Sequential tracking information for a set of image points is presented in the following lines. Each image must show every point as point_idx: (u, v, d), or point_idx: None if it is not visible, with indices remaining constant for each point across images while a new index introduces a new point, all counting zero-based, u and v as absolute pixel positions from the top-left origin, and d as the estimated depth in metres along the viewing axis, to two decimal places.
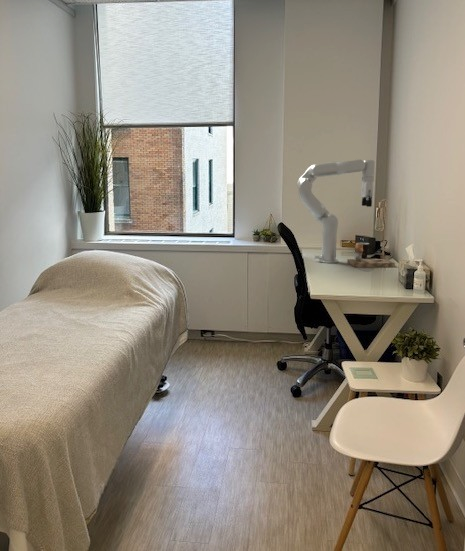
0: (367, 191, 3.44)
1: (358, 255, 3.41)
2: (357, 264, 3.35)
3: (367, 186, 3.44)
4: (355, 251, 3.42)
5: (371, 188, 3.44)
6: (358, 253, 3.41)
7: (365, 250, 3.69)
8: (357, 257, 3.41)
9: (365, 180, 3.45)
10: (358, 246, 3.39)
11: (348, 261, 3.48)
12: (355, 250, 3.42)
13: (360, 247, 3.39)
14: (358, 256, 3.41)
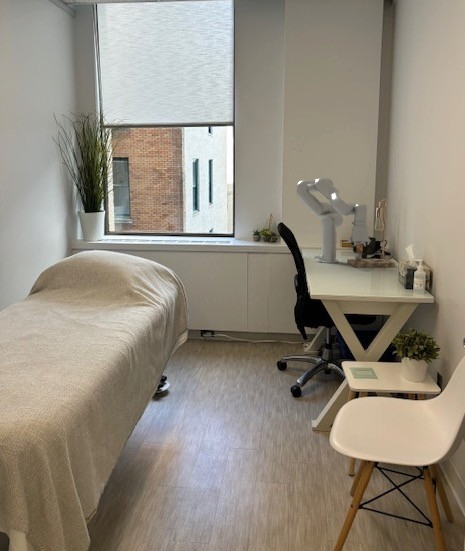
0: None
1: (358, 255, 3.41)
2: (357, 264, 3.35)
3: None
4: None
5: None
6: (358, 253, 3.41)
7: (365, 250, 3.69)
8: (357, 257, 3.41)
9: (365, 225, 3.37)
10: (358, 246, 3.39)
11: (348, 261, 3.48)
12: None
13: (360, 247, 3.39)
14: (358, 256, 3.41)
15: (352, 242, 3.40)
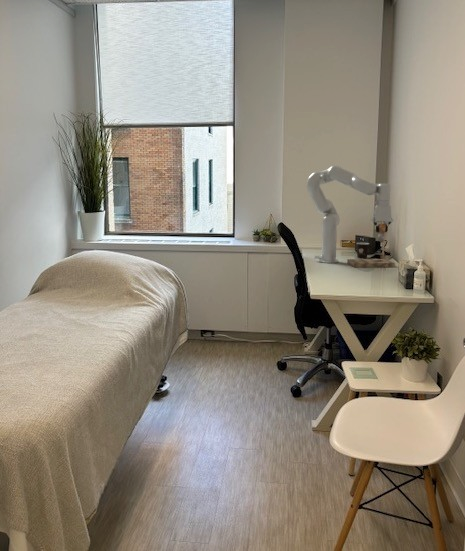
0: None
1: (381, 235, 3.39)
2: (357, 264, 3.35)
3: (390, 210, 3.37)
4: None
5: None
6: (381, 233, 3.39)
7: (365, 250, 3.69)
8: (380, 237, 3.40)
9: (388, 204, 3.35)
10: (381, 226, 3.38)
11: (348, 261, 3.48)
12: None
13: (383, 227, 3.38)
14: (380, 236, 3.39)
15: (375, 222, 3.38)
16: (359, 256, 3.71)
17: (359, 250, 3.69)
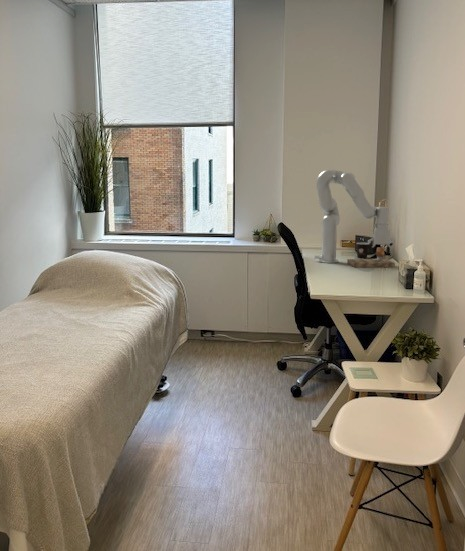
0: None
1: (379, 259, 3.42)
2: (357, 264, 3.35)
3: (389, 233, 3.39)
4: (376, 255, 3.43)
5: None
6: (379, 257, 3.42)
7: (365, 250, 3.69)
8: (378, 261, 3.43)
9: (387, 227, 3.38)
10: (379, 250, 3.41)
11: (348, 261, 3.48)
12: (376, 254, 3.43)
13: (381, 251, 3.41)
14: (379, 260, 3.42)
15: (370, 243, 3.41)
16: (359, 256, 3.71)
17: (359, 250, 3.69)
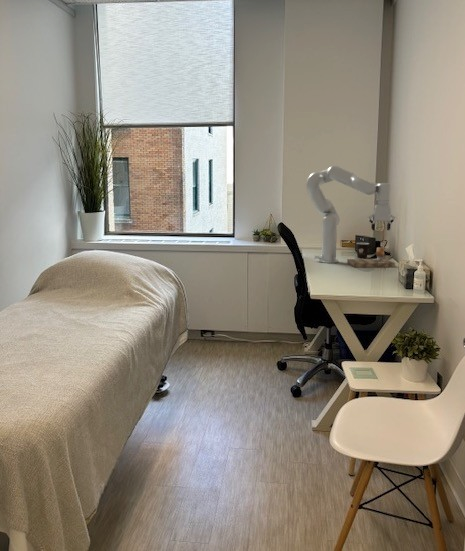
0: None
1: (379, 259, 3.42)
2: (357, 264, 3.35)
3: None
4: (376, 255, 3.43)
5: None
6: (379, 257, 3.42)
7: (365, 250, 3.69)
8: (378, 261, 3.43)
9: None
10: (379, 250, 3.41)
11: (348, 261, 3.48)
12: (376, 254, 3.43)
13: (381, 251, 3.41)
14: (379, 260, 3.42)
15: None
16: (359, 256, 3.71)
17: (359, 250, 3.69)
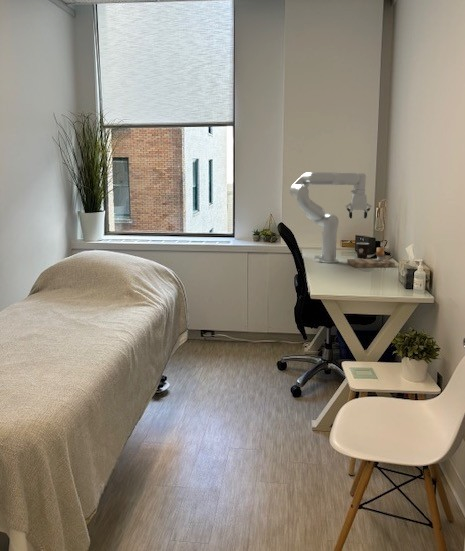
0: None
1: (379, 259, 3.42)
2: (357, 264, 3.35)
3: (366, 198, 3.54)
4: (376, 255, 3.43)
5: None
6: (379, 257, 3.42)
7: (365, 250, 3.69)
8: (378, 261, 3.43)
9: (364, 193, 3.52)
10: (379, 250, 3.41)
11: (348, 261, 3.48)
12: (376, 254, 3.43)
13: (381, 251, 3.41)
14: (379, 260, 3.42)
15: (348, 208, 3.55)
16: (359, 256, 3.71)
17: (359, 250, 3.69)
